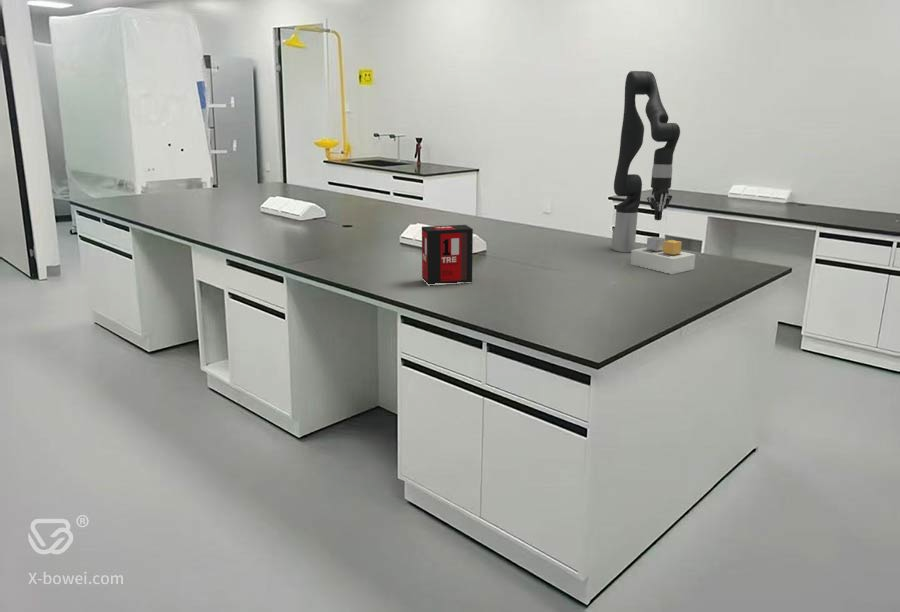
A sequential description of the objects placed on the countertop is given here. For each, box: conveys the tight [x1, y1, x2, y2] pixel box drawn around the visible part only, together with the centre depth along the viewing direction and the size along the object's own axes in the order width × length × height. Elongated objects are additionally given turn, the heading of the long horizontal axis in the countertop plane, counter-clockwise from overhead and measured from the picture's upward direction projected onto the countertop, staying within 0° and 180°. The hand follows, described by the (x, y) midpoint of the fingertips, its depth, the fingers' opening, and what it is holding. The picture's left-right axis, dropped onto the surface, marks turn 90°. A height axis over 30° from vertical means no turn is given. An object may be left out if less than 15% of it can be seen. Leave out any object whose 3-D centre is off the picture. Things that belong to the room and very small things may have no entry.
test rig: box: [629, 246, 696, 275], centre depth 272 cm, size 20×14×6 cm
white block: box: [645, 236, 666, 251], centre depth 273 cm, size 5×5×4 cm
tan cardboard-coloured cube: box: [663, 239, 683, 255], centre depth 267 cm, size 5×5×4 cm
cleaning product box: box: [421, 224, 474, 284], centre depth 247 cm, size 16×9×20 cm, turn 105°
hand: (657, 220), depth 271 cm, fingers closed
